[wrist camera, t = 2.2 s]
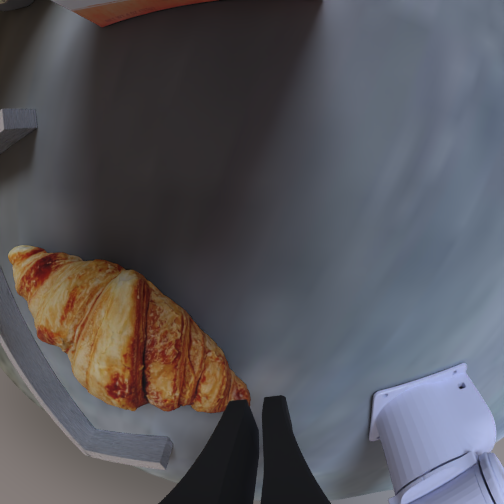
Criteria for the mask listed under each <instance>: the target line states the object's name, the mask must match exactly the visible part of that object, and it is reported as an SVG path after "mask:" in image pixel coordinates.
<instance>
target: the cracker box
mask: <svg viewBox="0 0 504 504" xmlns="http://www.w3.org/2000/svg"><path fill="white" fill-rule="evenodd" d="M51 1H53V2H55V3H57V4H59V5H61V6H63V7H65V8H67V9H69V10H71V11H73V12H75V13H77V14H78V15H80V16H82V17H84V18H86V19H88V20H90V21H92V22H93V23H95V24H97V25H99V26H100V27H105V26H107V25H110V24H113V23H116V22H119V21H122V20H125V19H129V18H132V17H136V16H139V15H143V14H147V13H151V12H154V11H159V10H163V9H168V8H173V7H178V6H183V5H189V4H195V3H202V2H209V1H217V0H51Z"/></svg>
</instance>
